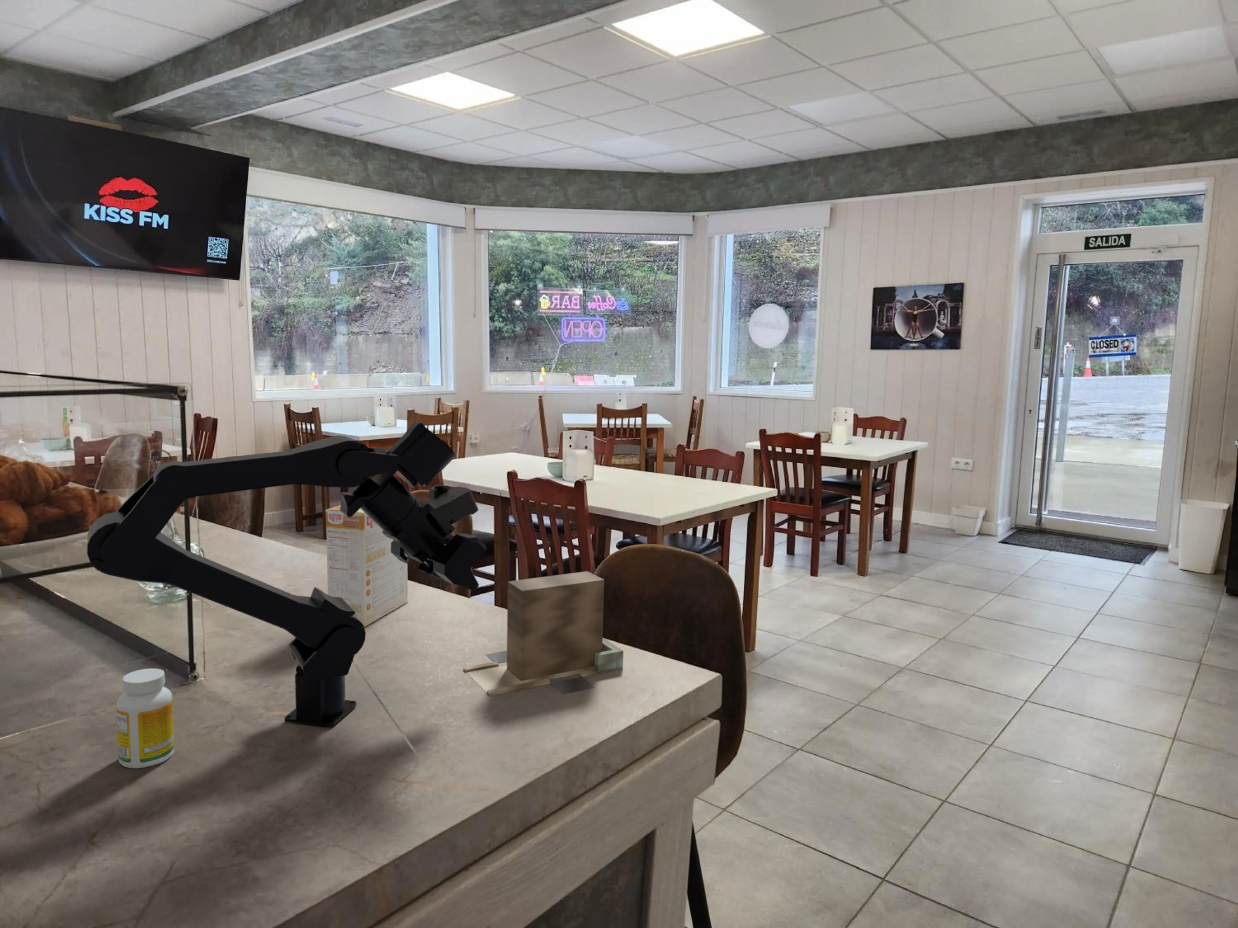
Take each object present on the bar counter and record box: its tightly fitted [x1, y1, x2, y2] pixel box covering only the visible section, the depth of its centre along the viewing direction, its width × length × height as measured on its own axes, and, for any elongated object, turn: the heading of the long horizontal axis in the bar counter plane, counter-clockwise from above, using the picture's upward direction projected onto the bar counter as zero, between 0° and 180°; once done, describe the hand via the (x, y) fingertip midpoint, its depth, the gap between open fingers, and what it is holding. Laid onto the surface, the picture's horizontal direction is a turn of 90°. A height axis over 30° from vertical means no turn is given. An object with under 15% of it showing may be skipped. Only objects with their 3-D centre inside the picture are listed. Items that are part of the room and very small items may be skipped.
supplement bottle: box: [115, 668, 175, 769], centre depth 89 cm, size 5×5×10 cm
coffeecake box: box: [325, 504, 409, 628], centre depth 139 cm, size 15×7×20 cm, turn 165°
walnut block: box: [506, 570, 605, 681], centre depth 118 cm, size 13×5×13 cm, turn 121°
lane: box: [462, 637, 624, 697], centre depth 117 cm, size 21×18×3 cm
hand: (475, 587), depth 111 cm, fingers closed
